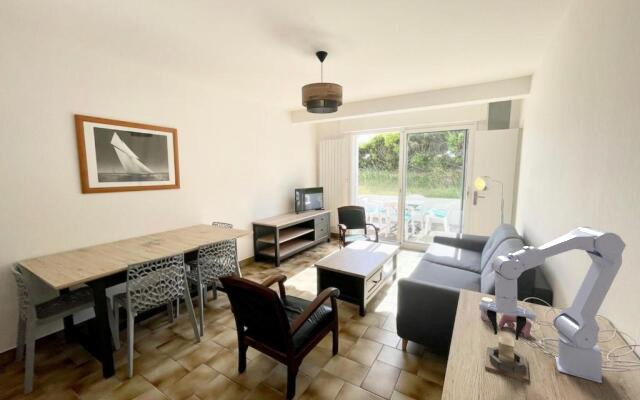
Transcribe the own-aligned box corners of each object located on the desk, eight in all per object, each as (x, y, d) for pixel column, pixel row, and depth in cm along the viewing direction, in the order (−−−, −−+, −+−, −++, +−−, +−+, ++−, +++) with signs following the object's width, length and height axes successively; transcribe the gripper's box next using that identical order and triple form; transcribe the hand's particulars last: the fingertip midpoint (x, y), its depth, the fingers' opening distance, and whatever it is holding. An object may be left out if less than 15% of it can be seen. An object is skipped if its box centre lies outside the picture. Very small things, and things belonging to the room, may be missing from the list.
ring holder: (527, 360, 88) (527, 351, 88) (528, 382, 79) (528, 373, 79) (487, 349, 94) (487, 341, 94) (485, 369, 85) (484, 360, 85)
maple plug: (513, 360, 87) (513, 339, 86) (514, 367, 84) (514, 346, 83) (499, 356, 89) (498, 336, 89) (498, 363, 86) (498, 342, 85)
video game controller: (531, 339, 101) (534, 320, 102) (527, 338, 98) (530, 318, 99) (501, 328, 109) (504, 310, 110) (497, 327, 106) (500, 309, 107)
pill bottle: (481, 320, 112) (480, 300, 112) (480, 314, 117) (480, 296, 116) (494, 322, 110) (494, 302, 109) (493, 316, 114) (493, 297, 114)
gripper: (534, 294, 84) (534, 335, 85) (480, 285, 92) (481, 323, 93) (536, 304, 78) (536, 348, 79) (478, 293, 86) (478, 333, 88)
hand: (506, 335), depth 86 cm, fingers open, 5 cm apart
